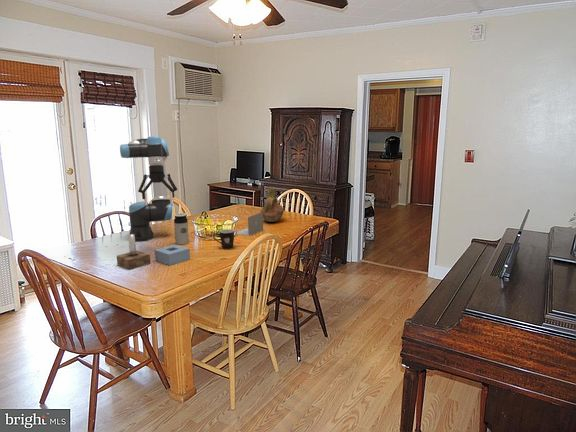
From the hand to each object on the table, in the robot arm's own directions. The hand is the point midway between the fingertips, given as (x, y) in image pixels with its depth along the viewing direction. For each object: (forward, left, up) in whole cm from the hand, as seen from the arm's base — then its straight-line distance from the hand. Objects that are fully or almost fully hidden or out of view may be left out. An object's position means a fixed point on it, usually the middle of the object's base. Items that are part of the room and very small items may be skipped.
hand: (159, 204), depth 224 cm
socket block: (+10, -1, -29) cm, 31 cm away
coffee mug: (+15, +32, -29) cm, 46 cm away
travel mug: (-13, +22, -29) cm, 39 cm away
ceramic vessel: (-8, +99, -29) cm, 104 cm away
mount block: (0, -18, -29) cm, 34 cm away
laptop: (0, +66, -30) cm, 72 cm away
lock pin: (0, -18, -28) cm, 33 cm away
